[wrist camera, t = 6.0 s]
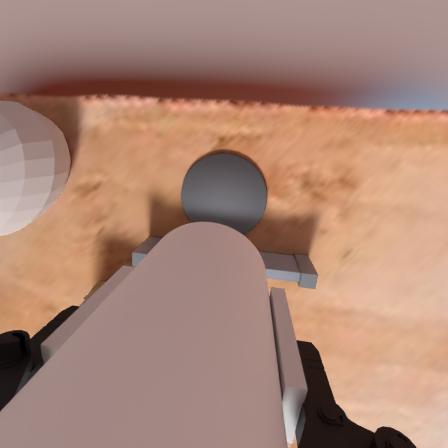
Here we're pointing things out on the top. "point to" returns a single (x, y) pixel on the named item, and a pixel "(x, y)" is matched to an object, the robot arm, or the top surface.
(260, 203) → the slate coaster
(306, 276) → the grey barrier wall
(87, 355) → the cup
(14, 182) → the soap bottle
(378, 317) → the top surface
